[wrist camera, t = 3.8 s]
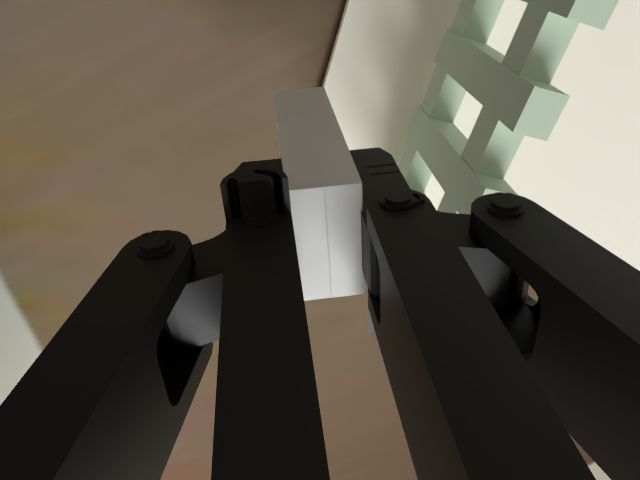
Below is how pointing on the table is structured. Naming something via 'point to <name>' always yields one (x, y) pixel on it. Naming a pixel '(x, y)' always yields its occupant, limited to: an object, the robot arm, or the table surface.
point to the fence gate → (492, 96)
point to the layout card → (532, 155)
